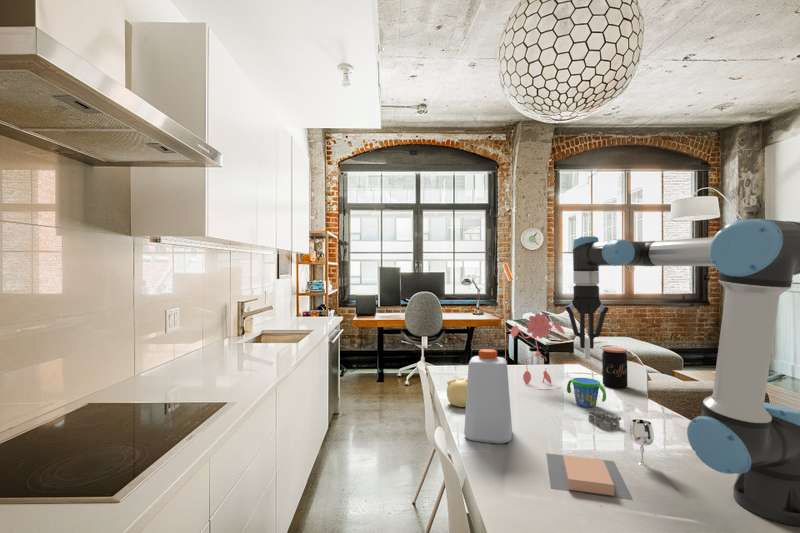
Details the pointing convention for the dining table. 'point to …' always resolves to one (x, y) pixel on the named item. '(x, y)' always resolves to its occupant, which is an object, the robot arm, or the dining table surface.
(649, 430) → the wineglass
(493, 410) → the plastic bottle
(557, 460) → the mat
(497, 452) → the dining table surface
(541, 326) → the pink flower
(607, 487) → the peach rectangular block
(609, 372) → the coffee jar
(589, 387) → the snack cup
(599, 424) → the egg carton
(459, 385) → the sculpture
